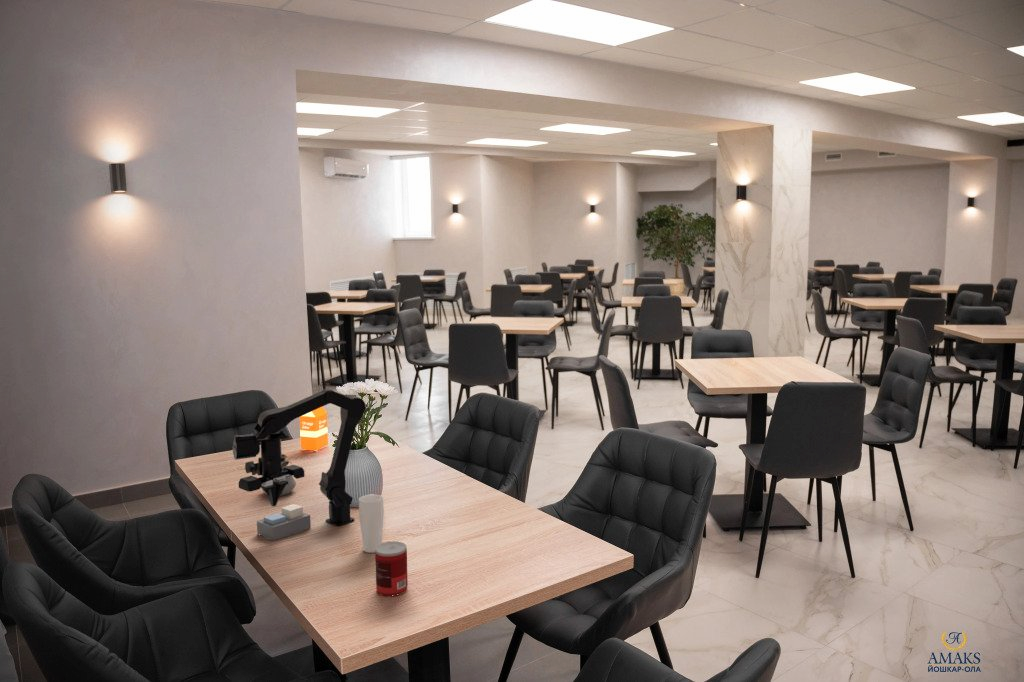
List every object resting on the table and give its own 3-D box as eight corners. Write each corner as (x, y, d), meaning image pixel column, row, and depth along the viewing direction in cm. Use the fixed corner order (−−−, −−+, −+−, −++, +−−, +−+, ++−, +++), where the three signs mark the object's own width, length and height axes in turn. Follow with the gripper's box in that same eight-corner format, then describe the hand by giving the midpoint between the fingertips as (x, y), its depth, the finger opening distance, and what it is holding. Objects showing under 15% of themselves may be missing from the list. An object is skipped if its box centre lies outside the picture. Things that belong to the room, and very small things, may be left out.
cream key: (303, 519, 228) (302, 507, 228) (290, 523, 225) (290, 510, 225) (294, 516, 231) (294, 503, 231) (282, 520, 228) (281, 507, 227)
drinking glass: (379, 555, 208) (377, 503, 206) (356, 553, 209) (354, 501, 207) (388, 546, 215) (386, 494, 213) (365, 544, 216) (364, 493, 214)
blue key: (286, 529, 224) (285, 516, 224) (273, 533, 221) (272, 520, 220) (277, 525, 227) (277, 513, 226) (264, 530, 224) (263, 517, 223)
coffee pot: (258, 490, 263) (256, 449, 261) (291, 485, 269) (289, 444, 267) (272, 509, 245) (270, 464, 243) (307, 503, 251) (306, 459, 249)
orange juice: (300, 450, 315) (298, 403, 312) (312, 445, 323) (310, 399, 321) (316, 451, 312) (315, 404, 310) (328, 446, 321) (326, 400, 318)
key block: (310, 527, 229) (310, 515, 228) (272, 540, 219) (272, 527, 218) (295, 521, 234) (294, 509, 233) (257, 534, 224) (256, 521, 223)
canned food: (409, 582, 192) (408, 540, 190) (405, 596, 184) (404, 553, 182) (378, 582, 191) (377, 541, 190) (374, 597, 183) (372, 554, 182)
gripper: (283, 443, 233) (285, 492, 235) (227, 456, 219) (229, 508, 221) (304, 449, 226) (306, 500, 228) (248, 463, 212) (250, 517, 214)
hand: (273, 506), depth 223 cm, fingers closed
